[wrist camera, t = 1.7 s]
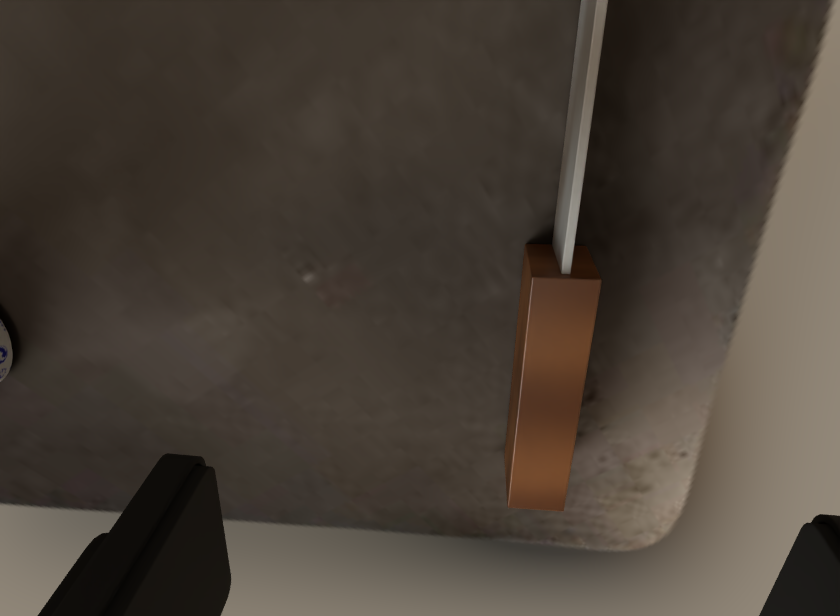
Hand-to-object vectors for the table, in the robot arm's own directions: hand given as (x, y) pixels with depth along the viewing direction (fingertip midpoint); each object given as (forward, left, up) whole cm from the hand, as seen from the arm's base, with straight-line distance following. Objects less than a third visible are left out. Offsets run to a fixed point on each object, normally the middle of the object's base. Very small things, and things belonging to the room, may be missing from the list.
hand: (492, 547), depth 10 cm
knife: (-2, +2, -13) cm, 14 cm away
